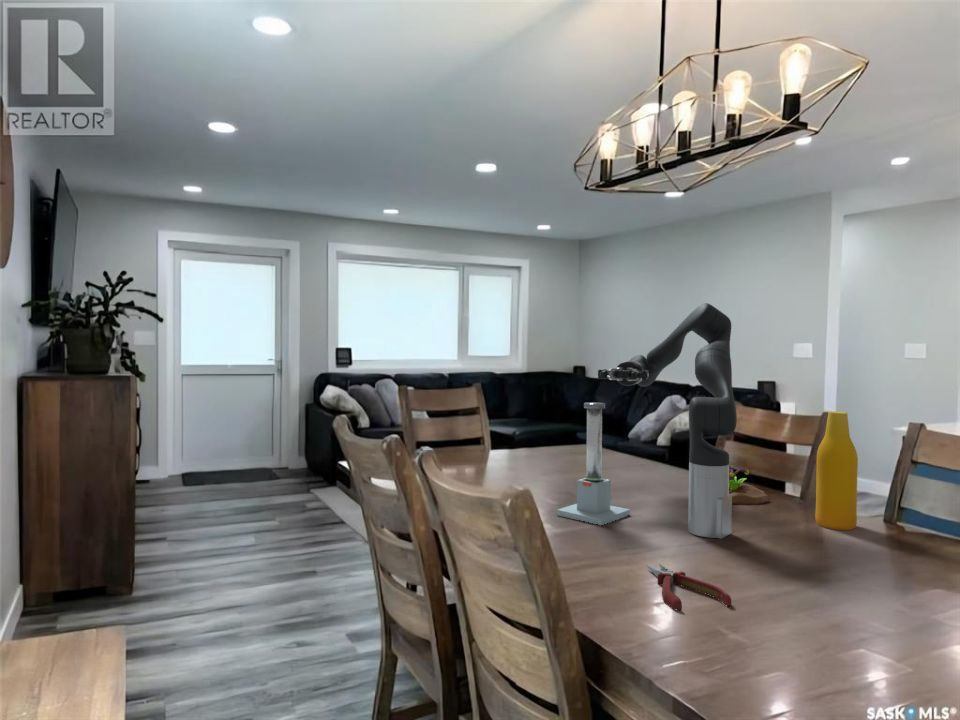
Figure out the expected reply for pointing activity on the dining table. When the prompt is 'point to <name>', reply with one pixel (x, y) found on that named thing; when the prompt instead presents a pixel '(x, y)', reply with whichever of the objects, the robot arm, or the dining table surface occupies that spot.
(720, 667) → the dining table surface
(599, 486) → the stand base
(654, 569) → the pliers
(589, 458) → the column
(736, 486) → the plant
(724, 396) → the robot arm
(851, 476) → the beer bottle
